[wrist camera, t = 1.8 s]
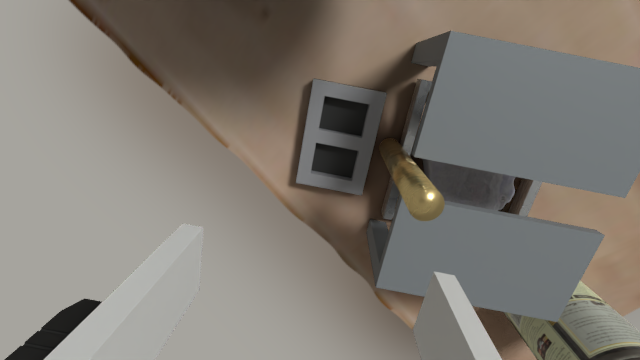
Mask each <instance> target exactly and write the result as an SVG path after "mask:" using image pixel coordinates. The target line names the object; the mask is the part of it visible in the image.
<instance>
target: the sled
mask: <svg viewBox="0 0 640 360" xmlns="http://www.w3.org/2000/svg"><path fill="white" fill-rule="evenodd" d="M431 85H432V82H431V81H426V80H421V79H417V82H416V85H415V89H414V93H413V96H412V100H411V104H410V107H409V111H408V115H407V118H406V122H405V126H404V129H403V133H402V137H401V140H400V144H399V143H398V141H397V140H395V139H393V138H387V139H385V140H383V141H382V142H381V144H380V146H379V152H380V154H381V156H382V158H383V160H384V162H385V164H386V166H387V168H388V170H389V172H390V174H391V177H390V181H389V184H388V188H387V191H386V195H385V199H384V202H383V206H382V210H381V213H382V216H383V218H384V219H389V220H392V217H393V216H394V212H395V209H396V207H395V206H396V202H397V199H398V195H399V192H400V194H401V196H402V198H403V200H404V202H405V204H406V206H407V208H408V210H409V212H410V214H411V215H412V216H413V217H414V218H415V219H417V220H419V221H431V220H433V219H435V218H437V217H438V216H439V215H440V214H441V213H442V211H443V209H444V205H445V202H444V198H443V196H442V195H441V193H440V192H439V191H438V190H437V189H436V187H435V186H434V185H433V184H432V182H431V181H430V180H429V179H428V178H427V176H426V175H425V174H424V173H423V172H422V170H421V169H420V168H419V167H418V166H417V164H416V163H415V162H414V161H413V159H412V158H411V157H410V154H411V150H412V147H413V143H414V140H415V136H416V133H417V130H418V126H419V123H420V119H421V116H422V112H423V109H424V105H425V102H426V98H427V95H428V91H430V88H431ZM541 184H542V182H541V181H535V180H530V179H525V178H522V180H521V182H520V185H519V187H518V189H517V192H516V194H515V197H514V199H513V201H512V204H511V206H510V208H509V211H508V213H511V214H516V215H521V216H526V217H527V215H528V213H529V211H530V209H531V206H532V204H533V202H534V200H535V197H536V195H537V193H538V191H539V188H540V186H541Z"/></svg>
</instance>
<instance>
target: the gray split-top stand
mask: <svg viewBox="0 0 640 360" xmlns="http://www.w3.org/2000/svg"><path fill="white" fill-rule="evenodd" d="M411 63H414V64H419V65H424V66H437V67H436V71H435V74H434V78H433V81H432V85H431V88H430V91H429V95H428V98H427V102H426V105H425V109H424V112H423V116H422V119H421V123H420V126H419V129H418V133H417V136H416V140H415V143H414V147H413V150H412V155H413V156H414V157H417V158H422V159H427V160H432V161H438V162H443V163H448V164H453V165H458V166H463V167H469V168H474V169H479V170H484V171H489V172H494V173H499V174H505V175H510V176H515V177H520V178H525V179H530V180H535V181H541V182H546V183H551V184H556V185H561V186H566V187H571V188H577V189H582V190H587V191H592V192H597V193H602V194H607V195H613V196H618V197H623V198H625V197H626V195H627V194H628V192H629V190H630V188H631V186H632V185H633V183H634V181H635V179H636V177H637V175H638V174H639V172H640V68H637V67H632V66H627V65H622V64H617V63H612V62H606V61H601V60H596V59H591V58H586V57H581V56H576V55H571V54H566V53H561V52H556V51H551V50H546V49H541V48H535V47H530V46H525V45H520V44H515V43H510V42H505V41H500V40H495V39H490V38H485V37H480V36H475V35H470V34H464V33H459V32H454V31H449V32H446V33H443V34H441V35H438V36H435V37H432V38H429V39H427V40H424V41H421V42H418V43H416V47H415V50H414V54H413V58H412V62H411ZM444 202H445V205H444V209H443V211H442V213H441V214H440V215H439V216H438V217H437V218H435V219H433V220H431V221H419V220H417V219H415V218H414V217H413V216H412V215H411V214H410V212H409V210H408V208H407V206H406V204H405V202H404V200H403V198H402V196H401V194H400V195H399V199H398V202H397V205H396V209H395V212H394V216H393V219H392V223H391V226H390V230H389V232H388V229H387V225H386V222H382V221H377V220H372V219H370V221H369V225H368V229H367V239H368V245H369V250H370V256H371V262H372V268H373V274H374V280H375V286H376V288H382V289H387V290H392V291H397V292H402V293H408V294H413V295H418V296H423V297H425V295H426V292H427V289H428V286H429V284H430V281H431V278H432V275H433V272H434V271H435V272H440V273H445V274H450V275H455V277H456V279H457V280H458V282H459V284H460V286H461V287H462V289H463V291H464V293H465V295H466V296H467V298H468V300H469V302H470V303H471V305H472V306H476V307H481V308H486V309H491V310H496V311H502V312H507V313H512V314H517V315H523V316H528V317H533V318H538V319H544V320H549V321H554V322H558V320H559V318H560V316H561V314H562V313H563V311H564V309H565V307H566V305H567V303H568V302H569V300H570V298H571V296H572V294H573V292H574V291H575V289H576V287H577V285H578V283H579V281H580V280H581V278H582V276H583V274H584V272H585V270H586V269H587V267H588V265H589V263H590V261H591V259H592V258H593V256H594V254H595V252H596V250H597V249H598V247H599V245H600V243H601V241H602V239H603V238H604V236H605V235H603V234H602V233H600V232H598V231H597V230H593V229H588V228H583V227H578V226H573V225H568V224H562V223H557V222H552V221H547V220H542V219H537V218H531V217H526V216H521V215H516V214H511V213H506V212H500V211H495V210H490V209H485V208H480V207H475V206H469V205H464V204H459V203H454V202H449V201H444Z"/></svg>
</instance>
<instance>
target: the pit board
mask: <svg viewBox="0 0 640 360" xmlns="http://www.w3.org/2000/svg"><path fill="white" fill-rule="evenodd" d="M386 95H387V93H385V92H381V91H375V90H370V89H365V88H360V87H355V86H350V85H345V84H340V83H335V82H329V81H324V80H319V79H313V84H312V90H311V96H310V102H309V108H308V114H307V120H306V126H305V131H304V137H303V143H302V149H301V155H300V161H299V167H298V173H297V179H296V183H300V184H305V185H310V186H315V187H320V188H326V189H331V190H336V191H341V192H346V193H351V194H357V195H362V192H363V188H364V184H365V180H366V176H367V172H368V168H369V164H370V160H371V156H372V152H373V148H374V143H375V139H376V135H377V131H378V127H379V123H380V119H381V115H382V111H383V107H384V103H385V99H386Z"/></svg>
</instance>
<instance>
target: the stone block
mask: <svg viewBox="0 0 640 360" xmlns="http://www.w3.org/2000/svg"><path fill="white" fill-rule="evenodd" d="M423 167H424V174H425V175H426V176H427V178H428V179H429V180H430V181H431V182H432V184H433V185H434V186H435V187H436V189H437V190H438V191H439V192H440V193H441V195H442V196H443V198H444V201H449V202H454V203H459V204H464V205H469V206H475V207H480V208H485V209H490V210H495V211H498V210H501V209H503V208H504V206H505V204H506V203H509V202H510V201H511V199H512V197H513V196H514V194H515V188H514V185H513V184H514V179H515V176H510V175H505V174H499V173H494V172H489V171H484V170H479V169H474V168H469V167H463V166H458V165H453V164H448V163H443V162H438V161H432V160H427V159H423Z"/></svg>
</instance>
